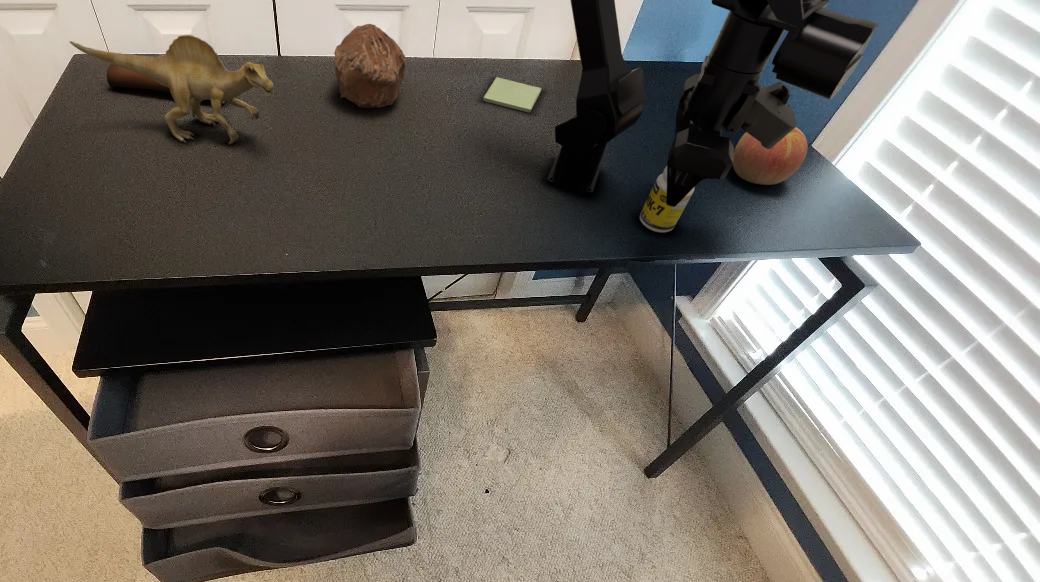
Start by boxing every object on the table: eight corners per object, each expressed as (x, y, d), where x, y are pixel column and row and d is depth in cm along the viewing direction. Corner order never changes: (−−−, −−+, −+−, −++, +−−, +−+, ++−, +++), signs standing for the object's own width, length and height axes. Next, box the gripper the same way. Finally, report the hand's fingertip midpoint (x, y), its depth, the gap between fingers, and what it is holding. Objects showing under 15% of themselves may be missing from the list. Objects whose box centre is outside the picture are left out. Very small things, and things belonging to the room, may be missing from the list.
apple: (790, 199, 86) (825, 149, 80) (728, 189, 86) (757, 139, 80) (776, 166, 91) (808, 117, 85) (718, 157, 92) (745, 107, 86)
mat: (529, 113, 96) (530, 109, 96) (482, 100, 98) (483, 97, 97) (540, 91, 101) (541, 88, 101) (495, 80, 103) (496, 76, 102)
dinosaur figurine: (278, 158, 84) (268, 61, 73) (98, 130, 85) (63, 31, 75) (293, 129, 88) (286, 35, 78) (123, 103, 90) (93, 7, 79)
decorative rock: (340, 74, 100) (340, 9, 93) (406, 81, 100) (411, 18, 92) (327, 113, 92) (325, 46, 84) (399, 121, 92) (404, 55, 84)
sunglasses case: (239, 78, 96) (226, 50, 89) (230, 118, 95) (217, 93, 88) (131, 63, 97) (111, 34, 90) (121, 102, 96) (100, 77, 89)
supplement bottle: (632, 213, 81) (656, 158, 75) (661, 209, 82) (688, 154, 76) (651, 236, 78) (678, 181, 72) (681, 231, 79) (711, 176, 73)
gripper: (820, 121, 57) (737, 247, 69) (811, 44, 68) (740, 165, 80) (701, 92, 59) (640, 220, 71) (711, 22, 70) (657, 143, 82)
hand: (673, 185), depth 76 cm, fingers open, 9 cm apart
